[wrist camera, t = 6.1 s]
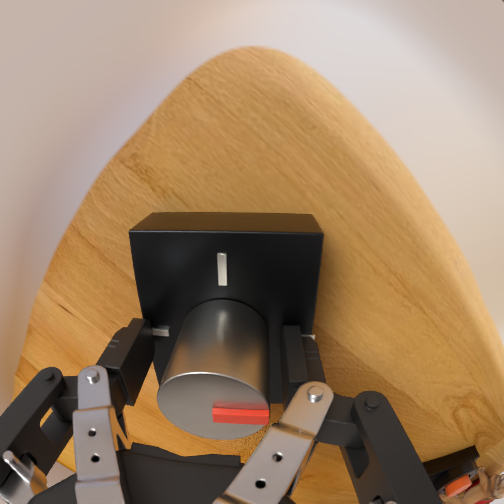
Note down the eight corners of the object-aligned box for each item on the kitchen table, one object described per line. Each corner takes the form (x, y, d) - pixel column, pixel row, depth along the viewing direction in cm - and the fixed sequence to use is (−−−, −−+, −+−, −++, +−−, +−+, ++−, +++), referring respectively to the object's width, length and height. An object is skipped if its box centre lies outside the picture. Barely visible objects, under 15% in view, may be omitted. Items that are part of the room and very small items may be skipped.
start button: (452, 479, 22) (456, 489, 20) (472, 470, 21) (476, 480, 20) (439, 490, 23) (442, 500, 21) (459, 482, 23) (463, 491, 21)
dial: (187, 363, 14) (166, 439, 10) (178, 296, 13) (143, 372, 8) (267, 368, 14) (267, 448, 10) (270, 300, 13) (273, 382, 8)
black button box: (402, 467, 25) (410, 493, 21) (476, 443, 24) (486, 464, 20) (376, 497, 28) (380, 518, 25) (444, 477, 28) (450, 496, 24)
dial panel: (149, 212, 15) (124, 231, 12) (314, 213, 14) (327, 234, 11) (171, 363, 18) (159, 397, 15) (298, 369, 18) (302, 405, 15)
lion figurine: (499, 451, 27) (515, 487, 19) (500, 457, 28) (515, 490, 20) (428, 496, 31) (438, 533, 23) (435, 498, 33) (445, 532, 24)
